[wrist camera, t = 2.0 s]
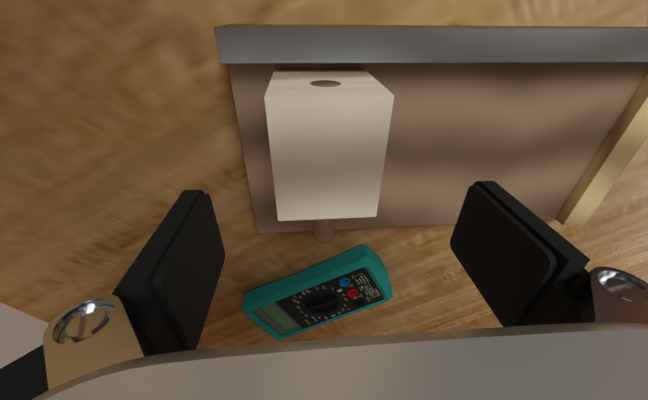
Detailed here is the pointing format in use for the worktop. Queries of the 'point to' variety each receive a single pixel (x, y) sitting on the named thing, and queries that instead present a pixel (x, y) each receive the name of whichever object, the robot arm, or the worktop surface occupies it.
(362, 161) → the block with top hole
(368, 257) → the digital multimeter
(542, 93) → the board
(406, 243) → the worktop surface
